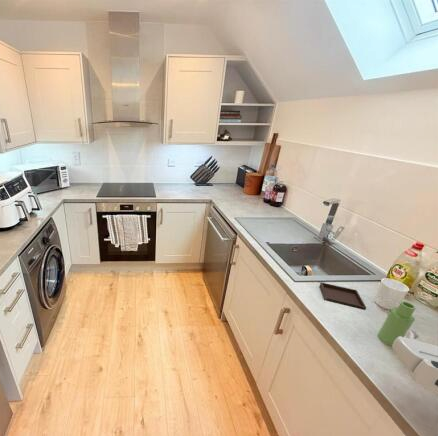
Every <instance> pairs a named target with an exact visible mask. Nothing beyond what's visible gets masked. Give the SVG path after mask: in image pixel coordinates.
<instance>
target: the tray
mask: <svg viewBox="0 0 438 436" xmlns="http://www.w3.org/2000/svg"><path fill="white" fill-rule="evenodd" d="M318 286H319V289H320V292H321V295H322V298H323V300H324V301H325V302H330V303H334V304H338V305H341V306H345V307H346V306H347V307H349V308H350V307H351V308H355V309H359V310H364V311H366V309H367V306H366V305H365V302H364V300H363V299H362V297H361V295H360V294H359V292H358V290H357V289H353V288H349V287H344V286H339V285H335V284H330V283H326V282H320V284H319V285H318Z"/></svg>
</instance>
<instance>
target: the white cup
mask: <svg viewBox="0 0 438 436" xmlns="http://www.w3.org/2000/svg"><path fill="white" fill-rule="evenodd" d="M409 291H410V288H409V286H407V284H405V283H403V282H401V281H399V280H397V279H392V278H386V277H384V278H382V279H381V281H380V283H379V285H378V288H377V290H376V291H375V292H376V293H375V296H374V298H373V301H374V303H375V304H376V305H377V306H379V307H381V308H383V309H385V310H390V311H391V309H397V308H398V307H399V305H400V303H401V301H404V299H405V297H406V295H407V294H408V293H409Z"/></svg>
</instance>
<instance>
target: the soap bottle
mask: <svg viewBox="0 0 438 436" xmlns="http://www.w3.org/2000/svg"><path fill="white" fill-rule="evenodd" d="M415 310H416V306H415V305H414V304H412V302H408V301H405V300H402V301H401V303H400V304H399V305H398V306H397V308H396V309H391V310H390V311H389V313H388V314H387V317H386V319H385V320H384V322H383V323H382V325H381V327H380V329H379V331H378V333H377V338H378V339H379V340H380V341H381V342H382V343H384V344H385V345H386V346H389V347H392V345H393V343H394V341H395V339H396V338H397V337H399V336H401V337H406V335H405V333H406V331H407V330H410V328H411V327H412V325H413V323H414V322H415V317H414V315H413V313H414V312H415Z"/></svg>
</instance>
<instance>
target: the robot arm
mask: <svg viewBox="0 0 438 436" xmlns="http://www.w3.org/2000/svg"><path fill="white" fill-rule="evenodd" d="M418 337H419V335H418V333H417V332H416V331H413V330H410V329H409V330H407V331H406V333H405V336H404V337H401V336H399V337H397V338H396V339H395V341H394V343H393V345H392V346H391V347H392V350H393V352H394V353H395V354H396V356H397V358H398V359H399V361H400V362H401V363H402V365H403V366H404V367H405V369H406V370H408V371H409V372H411V373H412V375H411V378H412V380H413V381H414V382H415V383H416V384H417V385H419V386H421V387H423V388H426V389H428V390H429V391H431V392H434V393H436V394H437V395H438V345H435V344H431V343H428V342H424V341H420V340H418Z"/></svg>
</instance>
